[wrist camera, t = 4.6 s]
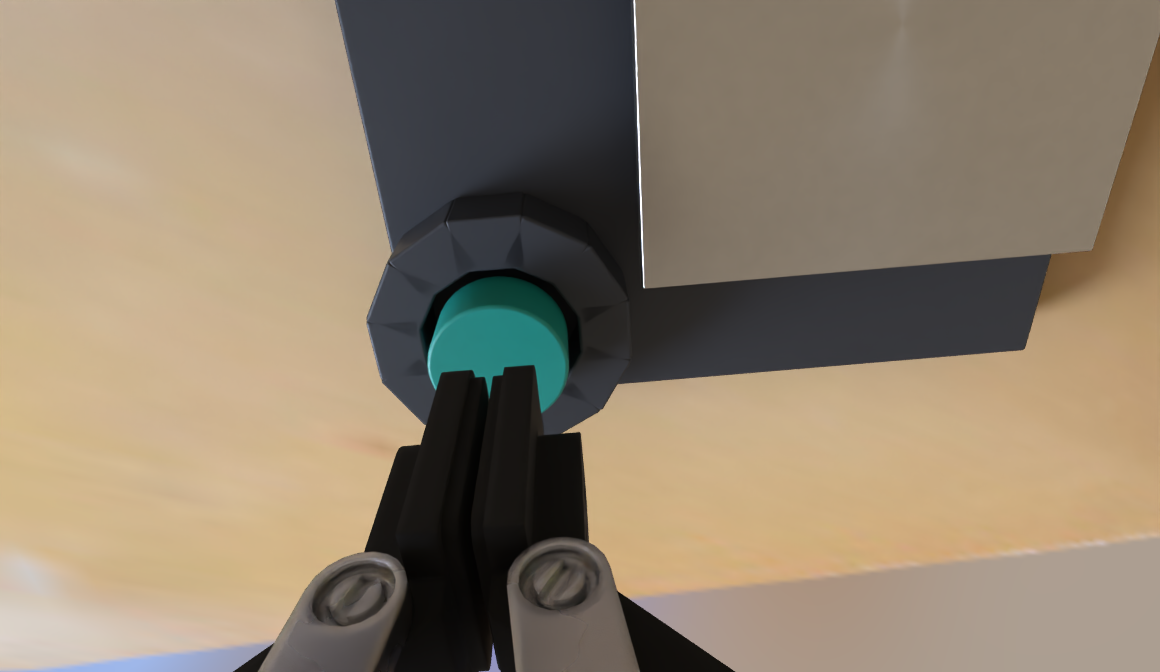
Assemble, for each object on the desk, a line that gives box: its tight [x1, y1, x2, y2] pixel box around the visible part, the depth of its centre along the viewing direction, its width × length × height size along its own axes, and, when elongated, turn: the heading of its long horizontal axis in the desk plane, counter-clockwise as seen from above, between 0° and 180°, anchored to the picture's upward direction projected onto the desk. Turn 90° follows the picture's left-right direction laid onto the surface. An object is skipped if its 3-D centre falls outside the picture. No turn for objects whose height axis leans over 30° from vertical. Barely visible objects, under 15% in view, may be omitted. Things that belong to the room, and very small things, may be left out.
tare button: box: [428, 276, 569, 413], centre depth 15 cm, size 3×3×2 cm
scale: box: [335, 0, 1051, 435], centre depth 15 cm, size 16×14×3 cm
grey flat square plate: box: [631, 0, 1160, 288], centre depth 12 cm, size 10×10×1 cm
